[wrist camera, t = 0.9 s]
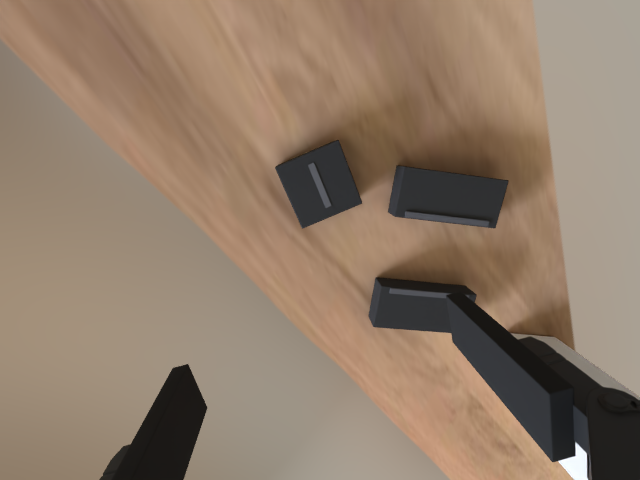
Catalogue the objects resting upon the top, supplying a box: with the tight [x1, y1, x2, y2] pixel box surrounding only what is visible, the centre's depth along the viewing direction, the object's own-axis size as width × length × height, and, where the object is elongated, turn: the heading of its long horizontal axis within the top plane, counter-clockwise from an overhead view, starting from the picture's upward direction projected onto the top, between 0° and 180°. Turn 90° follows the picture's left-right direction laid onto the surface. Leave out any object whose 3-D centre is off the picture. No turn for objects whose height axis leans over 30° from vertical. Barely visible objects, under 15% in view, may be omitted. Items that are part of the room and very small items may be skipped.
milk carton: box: [511, 333, 640, 480], centre depth 32 cm, size 7×7×19 cm
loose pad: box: [275, 140, 362, 228], centre depth 32 cm, size 6×6×3 cm
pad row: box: [369, 166, 508, 333], centre depth 35 cm, size 18×11×3 cm, turn 173°
